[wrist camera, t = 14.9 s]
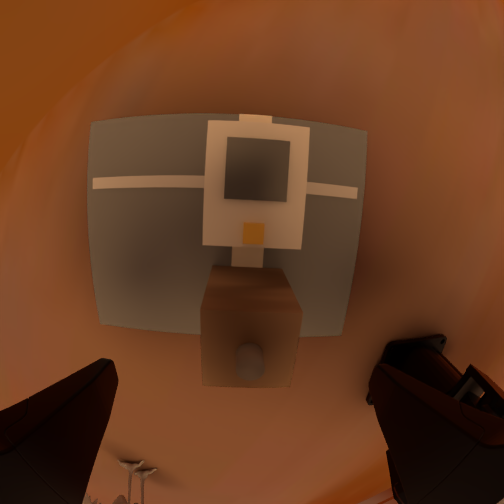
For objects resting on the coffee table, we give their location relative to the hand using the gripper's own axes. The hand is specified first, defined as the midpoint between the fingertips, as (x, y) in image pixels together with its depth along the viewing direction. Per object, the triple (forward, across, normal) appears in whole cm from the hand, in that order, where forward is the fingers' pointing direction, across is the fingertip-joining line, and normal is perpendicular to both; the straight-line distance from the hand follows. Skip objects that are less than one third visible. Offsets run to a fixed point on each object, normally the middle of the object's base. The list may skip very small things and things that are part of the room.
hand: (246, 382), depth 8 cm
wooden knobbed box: (+7, 0, 0) cm, 7 cm away
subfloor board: (+8, +1, -3) cm, 9 cm away
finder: (+7, 0, -6) cm, 9 cm away
